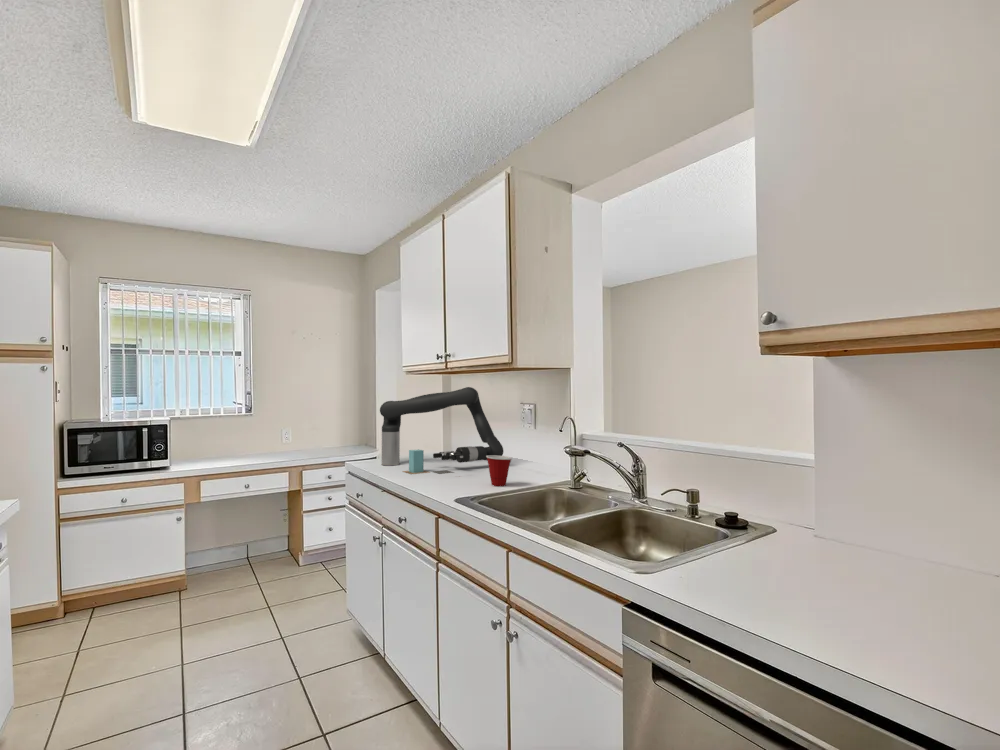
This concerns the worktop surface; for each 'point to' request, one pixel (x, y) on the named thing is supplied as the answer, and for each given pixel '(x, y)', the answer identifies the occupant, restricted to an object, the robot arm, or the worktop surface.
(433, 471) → the coaster mat
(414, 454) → the teal block
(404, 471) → the walnut base
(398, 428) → the robot arm
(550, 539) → the worktop surface
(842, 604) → the worktop surface
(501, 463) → the plastic cup
